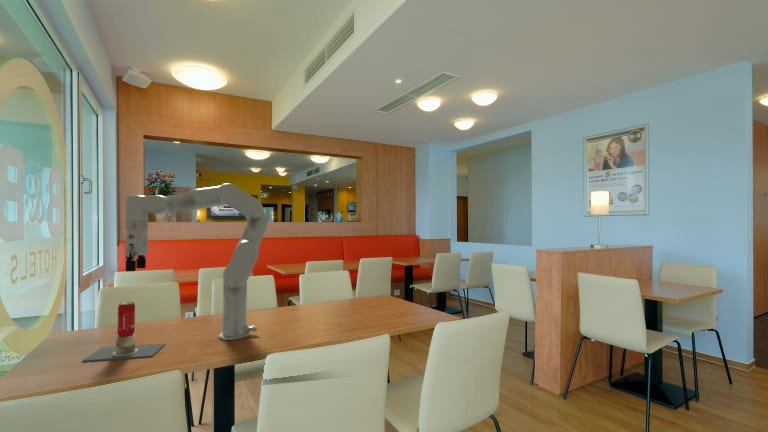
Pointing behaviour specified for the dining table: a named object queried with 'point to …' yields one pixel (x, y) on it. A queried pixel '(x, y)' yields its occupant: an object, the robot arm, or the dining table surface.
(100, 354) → the mat
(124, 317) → the beverage can
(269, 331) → the dining table surface
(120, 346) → the birch drum
